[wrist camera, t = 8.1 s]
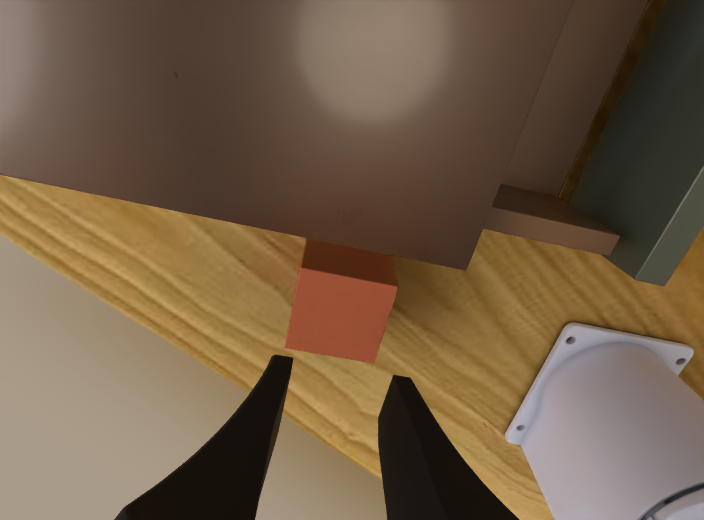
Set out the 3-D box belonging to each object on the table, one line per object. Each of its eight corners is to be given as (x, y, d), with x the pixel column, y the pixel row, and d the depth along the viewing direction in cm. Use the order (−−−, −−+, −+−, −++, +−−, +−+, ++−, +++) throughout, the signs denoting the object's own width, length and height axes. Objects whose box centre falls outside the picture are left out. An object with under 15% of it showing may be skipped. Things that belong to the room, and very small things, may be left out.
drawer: (839, -13, 15) (1088, -52, 10) (674, 249, 20) (787, 312, 15) (368, -166, 13) (382, -310, 8) (307, 166, 18) (291, 207, 13)
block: (369, 313, 22) (374, 364, 19) (294, 299, 22) (284, 348, 18) (389, 246, 21) (399, 287, 17) (308, 229, 20) (299, 267, 16)
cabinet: (530, -124, 14) (688, -285, 8) (425, 201, 20) (466, 271, 13) (112, -261, 13) (-139, -611, 6) (119, 133, 18) (-13, 172, 11)
